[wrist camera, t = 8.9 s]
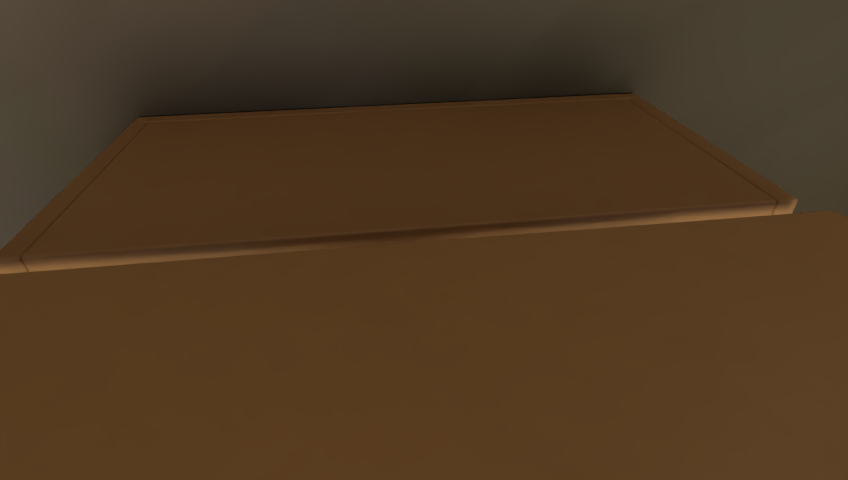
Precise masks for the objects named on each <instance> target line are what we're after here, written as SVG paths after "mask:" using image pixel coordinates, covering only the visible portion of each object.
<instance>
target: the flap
mask: <svg viewBox="0 0 848 480" xmlns="http://www.w3.org/2000/svg"><path fill="white" fill-rule="evenodd" d="M0 480H848V218H846V217H844V216H842V215H840V214H838V213H836V212H835V211H820V212H807V213H794V214H781V215H768V216H755V217H741V218H728V219H715V220H702V221H689V222H676V223H663V224H650V225H637V226H624V227H611V228H598V229H585V230H572V231H559V232H545V233H532V234H519V235H506V236H493V237H480V238H467V239H454V240H441V241H428V242H415V243H402V244H389V245H376V246H363V247H349V248H336V249H323V250H310V251H297V252H284V253H271V254H258V255H245V256H232V257H219V258H206V259H193V260H180V261H167V262H153V263H140V264H127V265H114V266H101V267H88V268H75V269H62V270H49V271H36V272H23V273H10V274H0Z"/></svg>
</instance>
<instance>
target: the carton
mask: <svg viewBox="0 0 848 480" xmlns="http://www.w3.org/2000/svg"><path fill="white" fill-rule="evenodd" d="M797 202H798V200H797V199H796V198H795V197H793V196H792V195H790V194H789V193H787V192H786V191H784V190H782V189H781V188H779V187H778V186H776V185H775V184H773V183H772V182H770V181H769V180H767V179H765V178H764V177H762V176H761V175H759V174H758V173H756V172H755V171H753V170H751V169H750V168H748V167H747V166H745V165H744V164H742V163H741V162H739V161H738V160H736V159H734V158H733V157H731V156H730V155H728V154H727V153H725V152H724V151H722V150H721V149H719V148H717V147H716V146H714V145H713V144H711V143H710V142H708V141H707V140H705V139H704V138H702V137H700V136H699V135H697V134H696V133H694V132H693V131H691V130H690V129H688V128H687V127H685V126H683V125H682V124H680V123H679V122H677V121H676V120H674V119H673V118H671V117H670V116H668V115H666V114H665V113H663V112H662V111H660V110H659V109H657V108H656V107H654V106H653V105H651V104H649V103H648V102H646V101H645V100H643V99H642V98H640V97H639V96H637V95H636V94H634V93H631V94H610V95H589V96H569V97H548V98H527V99H507V100H486V101H465V102H445V103H424V104H403V105H383V106H362V107H341V108H321V109H300V110H279V111H259V112H238V113H217V114H197V115H176V116H155V117H138V118H137V119H136V120H135V121H134V122H133V123H132V124H130V125H129V126H128V127H127V128H126V129H125V130H124V131H123V132H122V133H121V134H120V135H119V136H118V137H117V138H116V139H115V140H114V141H113V142H112V143H111V144H110V145H109V146H108V147H107V148H106V149H105V150H104V151H103V152H102V153H100V154H99V155H98V156H97V157H96V158H95V159H94V160H93V161H92V162H91V163H90V164H89V165H88V166H87V167H86V168H85V169H84V170H83V171H82V172H81V173H80V174H79V175H78V176H77V177H76V178H75V179H74V180H73V181H72V182H71V183H70V184H68V185H67V186H66V187H65V188H64V189H63V190H62V191H61V192H60V193H59V194H58V195H57V196H56V197H55V198H54V199H53V200H52V201H51V202H50V203H49V204H48V205H47V206H46V207H45V208H44V209H43V210H42V211H41V212H40V213H39V214H38V215H36V216H35V217H34V218H33V219H32V220H31V221H30V222H29V223H28V224H27V225H26V226H25V227H24V228H23V229H22V230H21V231H20V232H19V233H18V234H17V235H16V236H15V237H14V238H13V239H12V240H11V241H10V242H9V243H8V244H7V245H6V246H4V247H3V248H2V249H1V250H0V274H10V273H23V272H36V271H49V270H62V269H75V268H88V267H101V266H114V265H127V264H140V263H153V262H167V261H180V260H193V259H206V258H219V257H232V256H245V255H258V254H271V253H284V252H297V251H310V250H323V249H336V248H349V247H363V246H376V245H389V244H402V243H415V242H428V241H441V240H454V239H467V238H480V237H493V236H506V235H519V234H532V233H545V232H559V231H572V230H585V229H598V228H611V227H624V226H637V225H650V224H663V223H676V222H689V221H702V220H715V219H728V218H741V217H755V216H768V215H781V214H792V212H793V210H794V208H795V206H796V204H797Z"/></svg>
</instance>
